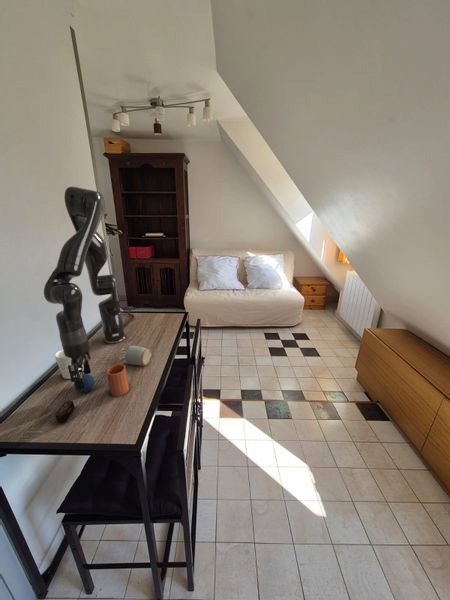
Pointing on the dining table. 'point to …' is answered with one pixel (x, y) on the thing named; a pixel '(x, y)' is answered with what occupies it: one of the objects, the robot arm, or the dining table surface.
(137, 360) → the ceramic mug
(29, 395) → the dining table surface
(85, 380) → the ball
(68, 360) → the white cup
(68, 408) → the wireless earbuds
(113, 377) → the cup
